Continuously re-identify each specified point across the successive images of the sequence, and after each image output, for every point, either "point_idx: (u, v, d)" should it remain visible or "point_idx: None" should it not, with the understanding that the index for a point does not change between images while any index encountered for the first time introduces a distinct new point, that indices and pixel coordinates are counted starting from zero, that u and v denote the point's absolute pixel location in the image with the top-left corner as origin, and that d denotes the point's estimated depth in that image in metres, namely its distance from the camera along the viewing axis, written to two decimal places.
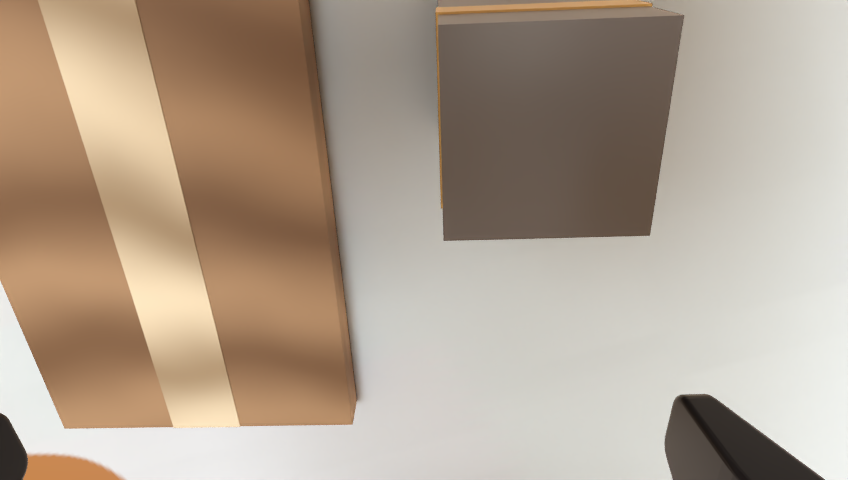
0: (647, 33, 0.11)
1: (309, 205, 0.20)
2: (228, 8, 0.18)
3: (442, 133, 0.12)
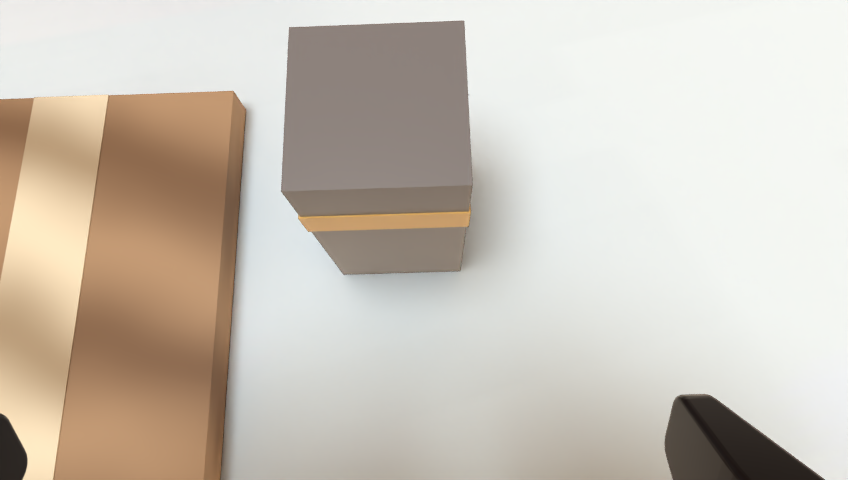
0: (440, 31, 0.15)
1: (199, 331, 0.20)
2: (171, 158, 0.22)
3: (286, 98, 0.14)
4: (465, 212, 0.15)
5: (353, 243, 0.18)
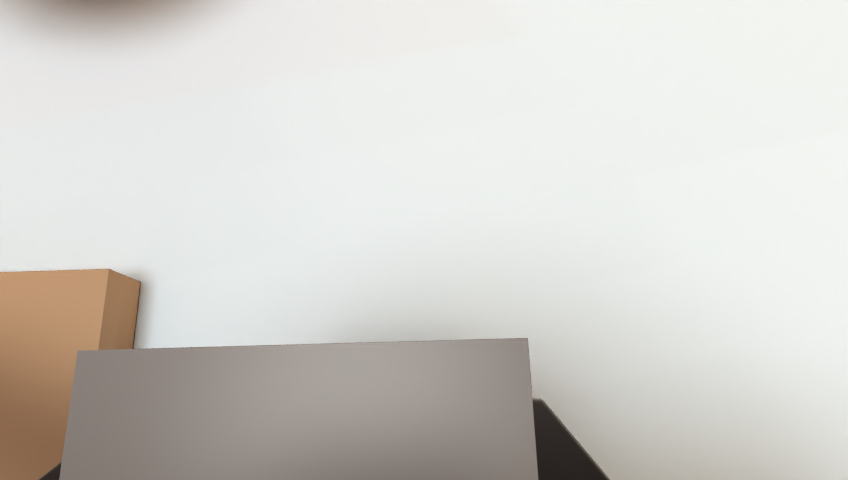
0: (466, 370, 0.06)
1: None
2: None
3: None
4: None
5: None
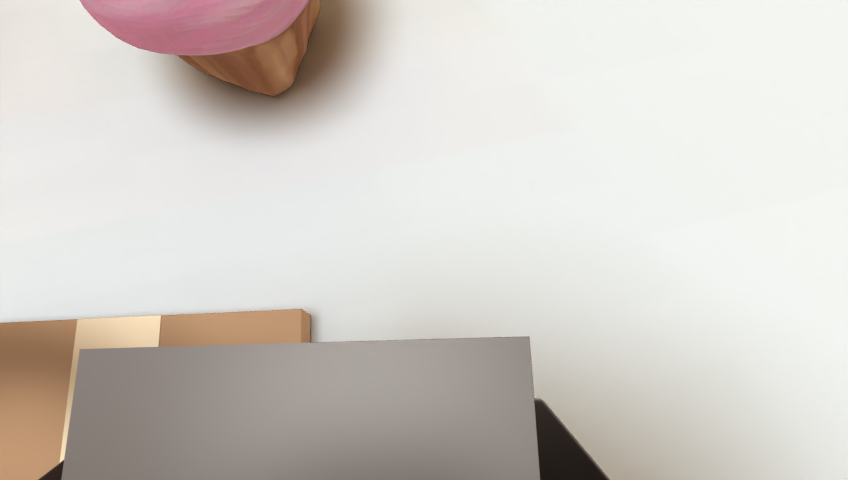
0: (468, 368, 0.06)
1: None
2: None
3: None
4: None
5: None
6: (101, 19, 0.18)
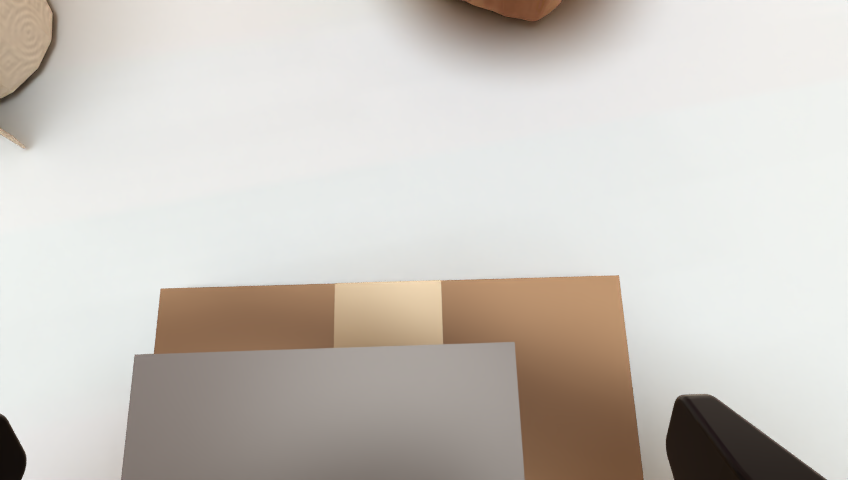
0: (463, 369, 0.07)
1: None
2: (549, 381, 0.15)
3: None
4: None
5: None
6: None
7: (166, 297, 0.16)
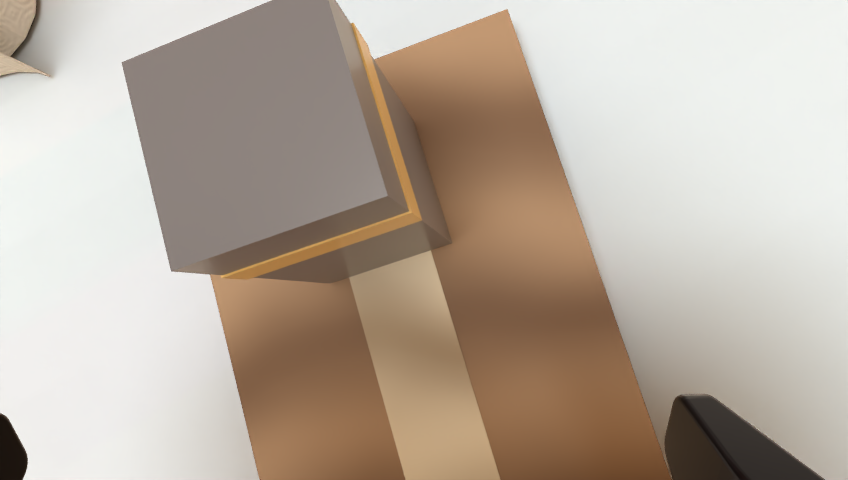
0: (297, 4, 0.11)
1: (581, 276, 0.18)
2: (471, 105, 0.20)
3: (144, 154, 0.11)
4: (405, 213, 0.12)
5: (310, 267, 0.15)
6: None
7: None
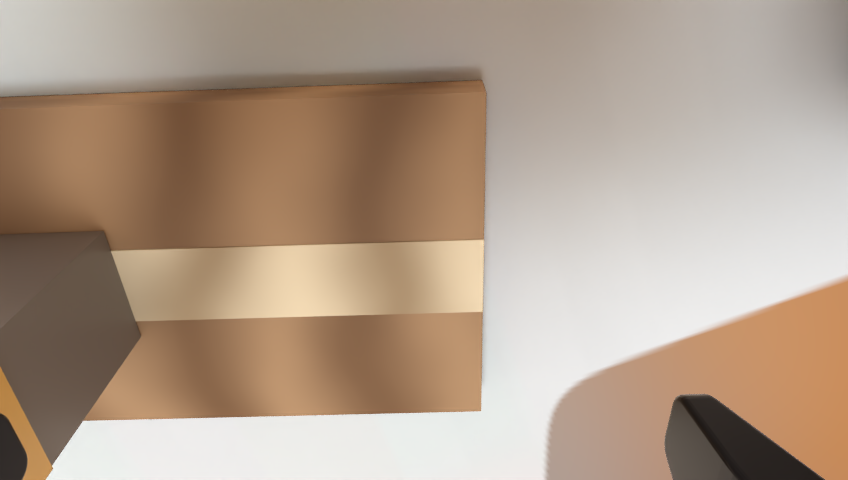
0: None
1: (142, 121, 0.18)
2: None
3: None
4: None
5: (67, 401, 0.17)
6: None
7: None
